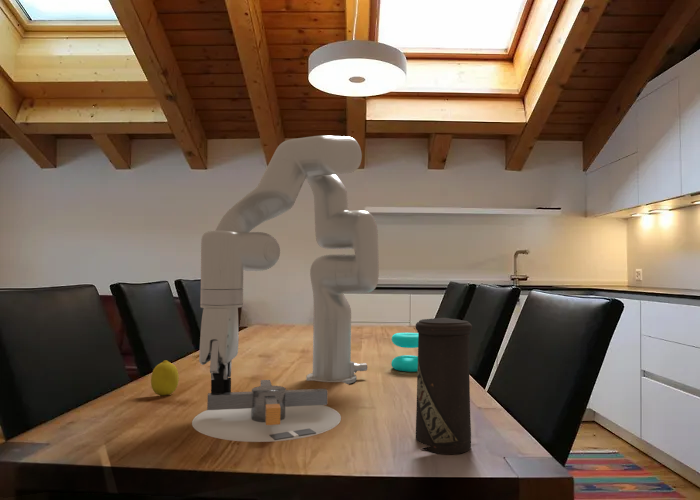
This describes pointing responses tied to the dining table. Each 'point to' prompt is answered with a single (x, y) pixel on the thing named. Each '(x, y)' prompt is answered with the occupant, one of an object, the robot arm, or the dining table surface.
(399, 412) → the dining table surface
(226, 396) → the capstan
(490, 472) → the dining table surface
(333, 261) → the robot arm
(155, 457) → the dining table surface
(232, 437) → the stand
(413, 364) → the donuts
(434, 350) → the container
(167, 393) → the lemon
